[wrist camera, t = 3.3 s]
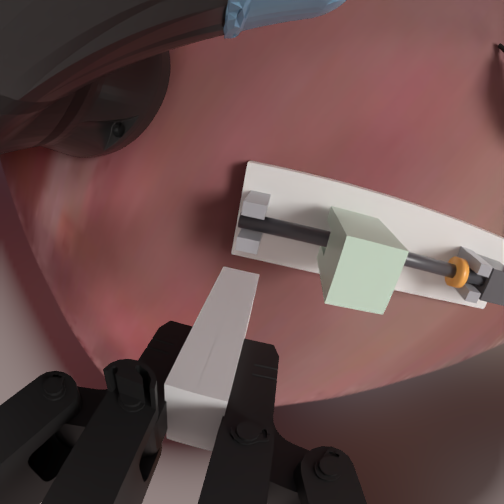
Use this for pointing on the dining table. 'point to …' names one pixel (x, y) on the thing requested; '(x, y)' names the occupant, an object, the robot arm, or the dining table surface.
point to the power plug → (501, 47)
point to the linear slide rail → (375, 205)
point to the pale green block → (359, 262)
